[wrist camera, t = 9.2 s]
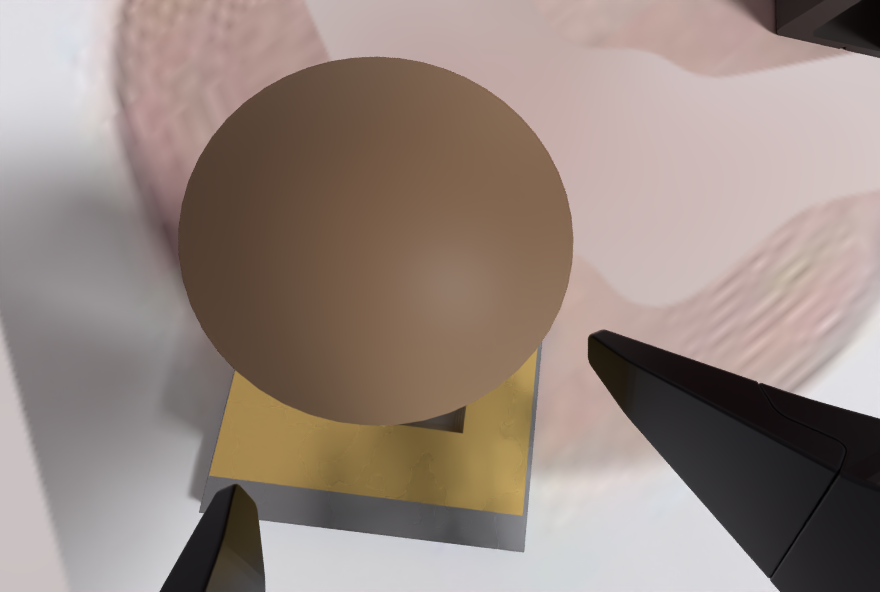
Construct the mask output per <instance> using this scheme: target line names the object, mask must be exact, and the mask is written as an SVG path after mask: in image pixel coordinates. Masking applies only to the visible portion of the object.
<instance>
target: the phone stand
mask: <svg viewBox="0 0 880 592" xmlns="http://www.w3.org/2000/svg"><path fill="white" fill-rule="evenodd" d="M776 14H777V34H778V35H780V36H784V37H789V38H793V39H798V40H802V41H807V42H811V43H816V44H820V45H824V46H829V47H833V48H838V49H840V48H842V47H845V50H847V51H851V52H856V53H860V54H865V55H869V56H873V57H878V58H880V0H776Z"/></svg>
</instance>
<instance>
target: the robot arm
mask: <svg viewBox="0 0 880 592" xmlns="http://www.w3.org/2000/svg"><path fill="white" fill-rule="evenodd" d="M588 360H589V363H590V365H591V366H592V368H593V369H594V371H595V372H596V374H597V375H598V377H599V378H600V379H601V381H602V382H603V384H604V385H605V386H606V388H607V389H608V391H609V392H610V394H611V395H612V396H613V398H614V399H615V401H616V402H617V404H618V405H619V406H620V408H621V409H622V410H623V412H624V413H625V414H626V415H627V417H628V418H629V419H630V420H631V421H632V423H633V424H634V425H635V426H636V427H637V428H638V429H639V431H640V432H641V433H642V434H643V435H644V436H645V437H646V439H647V440H648V441H649V442H650V443H651V444H652V446H653V447H654V448H655V449H656V450H657V451H658V452H659V454H660V455H661V456H662V457H663V458H664V459H665V460H666V462H667V463H668V464H669V465H670V466H671V467H672V468H673V470H674V471H675V472H676V473H677V474H678V475H679V476H680V478H681V479H682V480H683V481H684V482H685V483H686V484H687V486H688V487H689V488H690V489H691V490H692V491H693V492H694V494H695V495H696V496H697V497H698V498H699V499H700V500H701V502H702V503H703V504H704V505H705V506H706V507H707V508H708V510H709V511H710V512H711V513H712V514H713V515H714V516H715V518H716V519H717V520H718V521H719V522H720V523H721V524H722V526H723V527H724V528H725V529H726V530H727V531H728V532H729V534H730V535H731V536H732V537H733V538H734V539H735V540H736V542H737V543H738V544H739V545H740V546H741V547H742V548H743V550H744V551H745V552H746V553H747V554H748V555H749V556H750V558H751V559H752V560H753V561H754V562H755V563H756V565H757V566H758V567H759V568H760V569H761V570H762V571H763V573H764V574H765V575H766V576H767V577H768V578H770V581H771V582H772V583H773V584H774V585H775V587H776V588H777V589H778V590H779V591H780V592H880V419H879V418H876V417H872V416H868V415H865V414H861V413H857V412H854V411H850V410H846V409H843V408H839V407H836V406H832V405H829V404H826V403H822V402H819V401H815V400H812V399H808V398H805V397H802V396H799V395H796V394H793V393H790V392H787V391H784V390H781V389H778V388H775V387H772V386H769V385H766V384H763V383H759V384H758V382H757V381H754V380H751V379H748V378H745V377H742V376H739V375H736V374H733V373H731V372H728V371H725V370H722V369H719V368H716V367H713V366H710V365H707V364H704V363H701V362H698V361H695V360H693V359H690V358H687V357H684V356H681V355H678V354H675V353H672V352H669V351H666V350H663V349H660V348H657V347H655V346H652V345H649V344H646V343H643V342H640V341H637V340H634V339H631V338H628V337H625V336H622V335H619V334H617V333H614V332H611V331H608V330H600V331H597V332H595V333H592V334H590V335H589V337H588ZM160 592H265V572H264V563H263V554H262V545H261V536H260V527H259V519H258V510H257V506H256V504H255V502H254V500H253V499H252V498H251V497H250V496H249V495H248V494H247V492H246V491H245V490H244V489H243V488H242V487H241V486H240V485H239V484H236V483H235V484H232V485H229V486H227V487H225V488H222V489H220V490H218V491H217V492H216V494H215V495H214V497H213V498H212V500H211V502H210V504H209V505H208V507H207V509H206V511H205V512H204V514H203V516H202V518H201V519H200V521H199V523H198V525H197V527H196V528H195V530H194V532H193V534H192V535H191V537H190V539H189V541H188V542H187V544H186V546H185V548H184V549H183V551H182V553H181V555H180V556H179V558H178V560H177V562H176V563H175V565H174V567H173V569H172V570H171V572H170V574H169V576H168V577H167V579H166V581H165V583H164V585H163V586H162V588H161V590H160Z"/></svg>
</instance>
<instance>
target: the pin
mask: <svg viewBox="0 0 880 592" xmlns="http://www.w3.org/2000/svg"><path fill="white" fill-rule="evenodd" d="M571 219H572V218H571V212H570V208H569V203H568V199H567V194H566V191H565V189H564V186H563V183H562V180H561V178H560V175H559V172H558V171H557V168H556V167H555V164H554V163H553V161H552V159H551V157H550V155H549V153H548V151H547V150H546V148H545V147H544V145H543V144H542V142H541V141H540V139H539V138H538V137H537V135H536V134H535V133H534V131H532V129H531V128H530V127H529V126H528V125H527V123H526V122H525V121H524V120H523V119H522V118H521V117H520V116H519V115H518V114H517V113H516V112H515V111H514V110H513V109H512V108H510V107H509V106H508V105H507V104H506V103H505V102H504V101H502V100H501V99H499V98H498V97H497V96H495V95H494V94H493V93H491V92H490V91H488V90H487V89H485V88H484V87H482V86H480V85H478V84H476V83H475V82H473V81H471V80H469V79H467V78H465V77H463V76H461V75H458V74H456V73H454V72H451V71H449V70H446V69H444V68H440V67H437V66H433V65H430V64H427V63H423V62H418V61H412V60H407V59H400V58H386V57H362V58H350V59H343V60H337V61H330V62H327V63H323V64H319V65H316V66H312V67H308V68H306V69H303V70H301V71H298V72H296V73H293V74H291V75H288V76H286V77H284V78H282V79H280V80H278V81H277V82H275V83H273V84H271V85H269V86H268V87H266V88H264V89H263V90H261V91H260V92H259V93H257V94H256V95H254V96H253V97H252V98H250V99H249V100H247V101H246V102H245V103H244V104H243V105H241V106H240V107H239V108H238V109H237V110H236V111H235V112H234V113H233V114H232V115H231V116H230V117H229V118H228V119H227V120H226V121H225V122H224V123H223V124H222V126H221V127H220V128H219V129H218V131H217V132H216V133H215V134H214V135H213V137H212V138H211V139H210V141H209V143H208V144H207V146H206V147H205V149H204V151H203V152H202V154H201V155H200V157H199V159H198V161H197V163H196V166H195V168H194V170H193V172H192V175H191V177H190V179H189V182H188V185H187V189H186V192H185V196H184V199H183V202H182V208H181V215H180V222H179V259H180V265H181V271H182V278H183V282H184V285H185V288H186V291H187V295H188V298H189V301H190V304H191V306H192V309H193V311H194V313H195V315H196V317H197V319H198V321H199V323H200V325H201V327H202V329H203V330H204V332H205V333H206V335H207V336H208V338H209V339H210V340H211V342H212V343H213V345H214V346H215V348H216V349H217V351H218V352H219V353H220V354H221V355H222V356H223V357H224V358H225V359H226V360H227V362H228V363H229V364H230V365H231V366H232V367H233V368H234V369H235V370H236V371H237V372H238V373H239V374H240V375H242V376H243V377H244V378H245V379H247V380H248V381H249V382H250V383H252V384H253V385H254V386H255V387H257V388H258V389H259V390H261V391H263V392H264V393H266V394H268V395H269V396H271V397H273V398H274V399H276V400H278V401H280V402H281V403H283V404H285V405H287V406H290V407H292V408H295V409H297V410H300V411H302V412H304V413H307V414H309V415H313V416H316V417H320V418H324V419H328V420H332V421H336V422H341V423H350V424H358V425H398V424H405V423H411V422H417V421H424V420H427V419H430V418H434V417H437V416H440V415H444V414H447V413H450V412H453V411H455V410H457V409H459V408H461V407H464V406H466V405H468V404H470V403H472V402H475V401H476V400H478V399H480V398H481V397H483V396H484V395H486V394H488V393H489V392H491V391H492V390H494V389H495V388H497V387H498V386H500V385H501V384H502V383H503V382H504V381H506V380H507V379H508V378H509V377H510V376H512V375H513V374H514V373H515V372H516V371H518V370H519V368H520V367H521V366H522V365H523V364H524V363H525V362H526V361H527V360H528V359H529V357H530V356H531V355H532V354H533V353H534V352H535V351H536V349H537V348H538V346H539V345H540V343H541V342H542V340H543V339H544V338H545V336H546V335H547V333H548V332H549V330H550V328H551V326H552V324H553V322H554V320H555V318H556V316H557V314H558V312H559V310H560V308H561V305H562V302H563V299H564V296H565V293H566V290H567V287H568V282H569V277H570V271H571V266H572V256H573V230H572V220H571Z"/></svg>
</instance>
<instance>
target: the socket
mask: <svg viewBox="0 0 880 592" xmlns="http://www.w3.org/2000/svg"><path fill="white" fill-rule="evenodd" d="M541 349H542V342H541V343H540V345H539V346H538V348H537V349H536V351H535V352H534V353H533V354H532V355H531V356H530V357H529V359H528V360H527V361H526V362H525V363H524V364H523V365H522V366H521V367H520V368H519V370H518V371H516V372H515V373H514V374H513V375H512V376H510V377H509V378H508V379H507V380H506V381H504V382H503V383H502V384H501V385H500V386H498V387H497V388H495V389H494V390H492V391H491V392H489V393H488V394H486V395H484V396H483V397H481V398H480V399H478V400H476V401H475V402H472V403H470V404H468V405H466V406H464V407H461V408H459V409H457V410H455V411H453V412H450V413H447V414H444V415H440V416H437V417H434V418H430V419H427V420H424V421H417V422H411V423H405V424H398V425H358V424H350V423H341V422H336V421H332V420H328V419H324V418H320V417H316V416H313V415H309V414H307V413H304V412H302V411H300V410H297V409H295V408H292V407H290V406H287V405H285V404H283V403H281V402H280V401H278V400H276V399H274V398H273V397H271V396H269V395H268V394H266V393H264V392H263V391H261V390H259V389H258V388H257V387H255V386H254V385H253V384H252V383H250V382H249V381H248V380H247V379H245V378H244V377H243V376H242V375H240V374H239V373H238V372H237V371H236V370H235V371H234V375H233V379H232V383H231V387H230V391H229V395H228V399H227V403H226V407H225V411H224V414H223V418H222V422H221V426H220V430H219V434H218V438H217V442H216V446H215V450H214V454H213V458H212V462H211V466H210V470H209V474H208V478H207V482H206V486H205V490H204V494H203V498H202V502H201V506H200V510H199V513H204V512H205V511H206V509H207V507H208V505H209V504H210V502H211V500H212V498H213V497H214V495H215V494H216V492H217V491H218V490H220V489H222V488H225V487H227V486H229V485H232V484H235V483H236V484H239V485H240V486H241V487H242V488H243V489H244V490H245V491H246V492H247V494H248V495H249V496H250V497H251V498H252V499H253V500H254V502H255V504H256V506H257V510H258V519H259V520H264V521H272V522H281V523H289V524H297V525H305V526H313V527H321V528H329V529H338V530H346V531H354V532H362V533H370V534H378V535H386V536H395V537H403V538H411V539H419V540H427V541H435V542H443V543H452V544H460V545H468V546H476V547H484V548H492V549H500V550H508V551H517V552H524V547H525V535H526V524H527V512H528V500H529V489H530V477H531V465H532V454H533V442H534V430H535V419H536V407H537V396H538V384H539V372H540V361H541Z"/></svg>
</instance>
